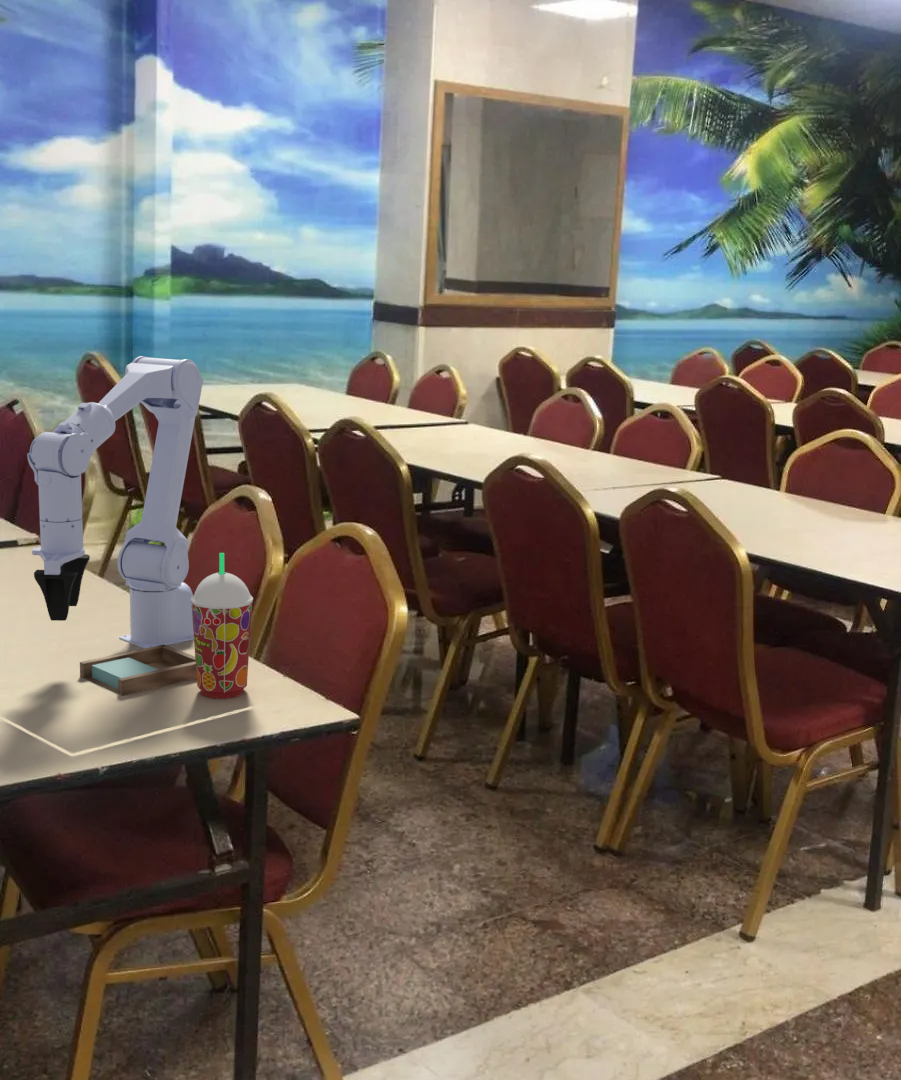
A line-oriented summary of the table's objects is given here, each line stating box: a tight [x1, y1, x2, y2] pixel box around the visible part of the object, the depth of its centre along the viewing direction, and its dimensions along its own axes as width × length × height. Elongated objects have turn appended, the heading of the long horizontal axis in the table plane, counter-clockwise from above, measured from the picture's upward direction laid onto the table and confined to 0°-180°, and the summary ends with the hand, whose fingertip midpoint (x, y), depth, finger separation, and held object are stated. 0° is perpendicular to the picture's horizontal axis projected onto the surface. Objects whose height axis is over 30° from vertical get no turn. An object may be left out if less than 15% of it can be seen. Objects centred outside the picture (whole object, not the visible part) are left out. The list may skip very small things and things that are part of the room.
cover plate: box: [92, 657, 158, 689], centre depth 187 cm, size 6×8×2 cm
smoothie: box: [191, 552, 254, 700], centre depth 182 cm, size 8×8×20 cm
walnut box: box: [79, 645, 197, 696], centre depth 189 cm, size 14×11×2 cm
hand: (64, 612), depth 188 cm, fingers open, 7 cm apart
